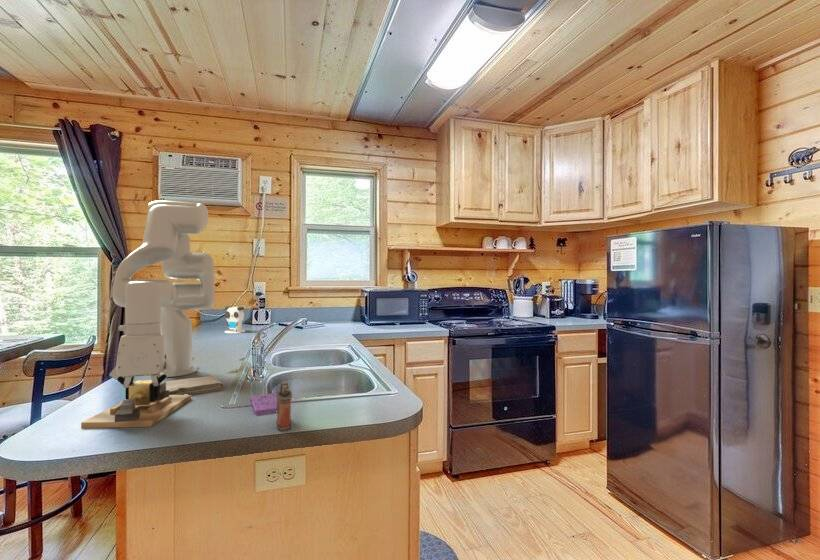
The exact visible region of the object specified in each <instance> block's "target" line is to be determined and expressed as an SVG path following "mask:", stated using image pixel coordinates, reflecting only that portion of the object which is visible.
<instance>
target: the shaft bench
mask: <svg viewBox="0 0 820 560" xmlns="http://www.w3.org/2000/svg"><path fill="white" fill-rule="evenodd" d="M191 399H192V394H190V395H169V390H166V381H162V382H161V383H160V396H159V397H158V399H157V400H156V401H155V402H152V403H151V404H149V405H139V406H135V399H130V400H127V399H126V398H125V399H124V400H122V401H121V402H119V403H117V404H114V405H113V406H111V407H108V408H107V409H106V410H103V411H101V412H100V413H98V414H96V415H94V416H90V418H87V419H86V420H83V421H82V422H81V423H80V428H81V429H87V428H88V429H90V428H93V429H95V428H101V429H102V428H146V427H148V428H149V427H151V428H152V427H153V426H155V424H158V422H160V421H161V420H163V419H164V418H166V417H168V415H170V414H172V413H174V412H175V411H176V410H177V409H179V408H180V407H181V406H183V405H184V403H185V404H186V403H187V402H189V401H190V400H191Z"/></svg>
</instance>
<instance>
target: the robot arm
mask: <svg viewBox="0 0 820 560" xmlns="http://www.w3.org/2000/svg"><path fill="white" fill-rule="evenodd" d="M209 219H210V217H209V210H208V208H207V206H206V204H204V203H201V202H193V201H192V202H191V201H180V200H162V199H160V200H159V199H158V200H153V201H151V202H149V203H148V204H147V217H146V223H145V226H144V227H145V228H144V232H143V237H142V244H141V245H140V247H137V248H136V249H135V250H133V251H132V252H131V253H129V254H128V255H127V256H126V257H125V258H124V259H123V260H122V261H121V262H120V263H119V265H118V266H117V269H116V271H115V276H114V280H113V284H112V291H111V292H112V293H111V296H112V300H113V302H114V303H115V304H116V306H118V307H121V308H125V310H124V311H125V313H124V314H125V316H124V324H122V325H119V326H118V331H120V332H121V331H122V332H123V334H124V335H121V336H120V339H119V343H118V348H117V356H116V364H115V367H113V369H112V370H111V371H110V373H109V377H111V378H112V379H114V380H117V381H118V383H120V384H121V385H122V386H123V388H125V398H124V399H125V400H126V399H127V400H129V386H130V385H131V384H133V383H134V382H135V378H136V377H146V376H147V377H149V376H150V380H152V383H153V384H152V387H151V402H155V401H156V400H157V399H158V397H159V396H160V383H161V382H164V381H165V380H166V379H168V378H173V377H181V376H182V377H183V376H186V375H187V376H188V375H191V374H195V372H197V366H195V365H192V363H193V362H194V361H195V357H194V356H193V355H192V352H193V349H192V348H193V345H192V344H193V341H192V340H193V322H192V320H191V318H190V316H188V315H187V313H185V311H198V310H199V311H201V310H202V311H203V310H209V309H211V308H213V306H214V304H215V264H214V263H215V262H214V258H213V256H212V255H210V254H209V253H206V252H196V251H195V252H192V251H191V239H190V235H189V234H194V235H195V234H200V233H202V231H203V230H204V229H205V228H206V227H207V225H208V222H209ZM158 263H161V270H162V274H163V277H165V278H167V279H168V280H167V279H150V278H133V276H134V275H135V274H136V273H137V272H138V271H139V272H140V271H141V270H142V269H144V268H146V267H149V266H152V265H154V264H158ZM169 279H170V280H172V279H173V280H197V281H199V282H173V281H170V280H169Z"/></svg>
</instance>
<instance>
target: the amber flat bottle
mask: <svg viewBox="0 0 820 560" xmlns="http://www.w3.org/2000/svg"><path fill="white" fill-rule="evenodd" d="M288 382H289V381H288ZM288 382H287V381H281V382H280V389H278V390H277V391H276V394H277V405H276V409H277V412H276V417H277V418H276V422H275V428H276V429H277V431H278V432H279V431H280V433H285V432H289V431H291V429H292V419H291V411H292V410H291V409H292V407H291V404H292V403H291V401H292V399H293V398H292V397H293V396H292V395H293V394H292V392H291V390H290V386H289V383H288ZM288 430H289V431H288Z"/></svg>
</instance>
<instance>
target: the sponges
mask: <svg viewBox="0 0 820 560" xmlns="http://www.w3.org/2000/svg"><path fill="white" fill-rule="evenodd" d="M249 398H250V403H252V404H251V406H253V407H252V410H253V414H254V415H255V414H261V415H264V414H263V413H267V414H269V413H268V412H274V413H277V412H276V411H277V409H276V405H277V392H273V393H267V394H260V395H258V394H257V395H250V397H249Z"/></svg>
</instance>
